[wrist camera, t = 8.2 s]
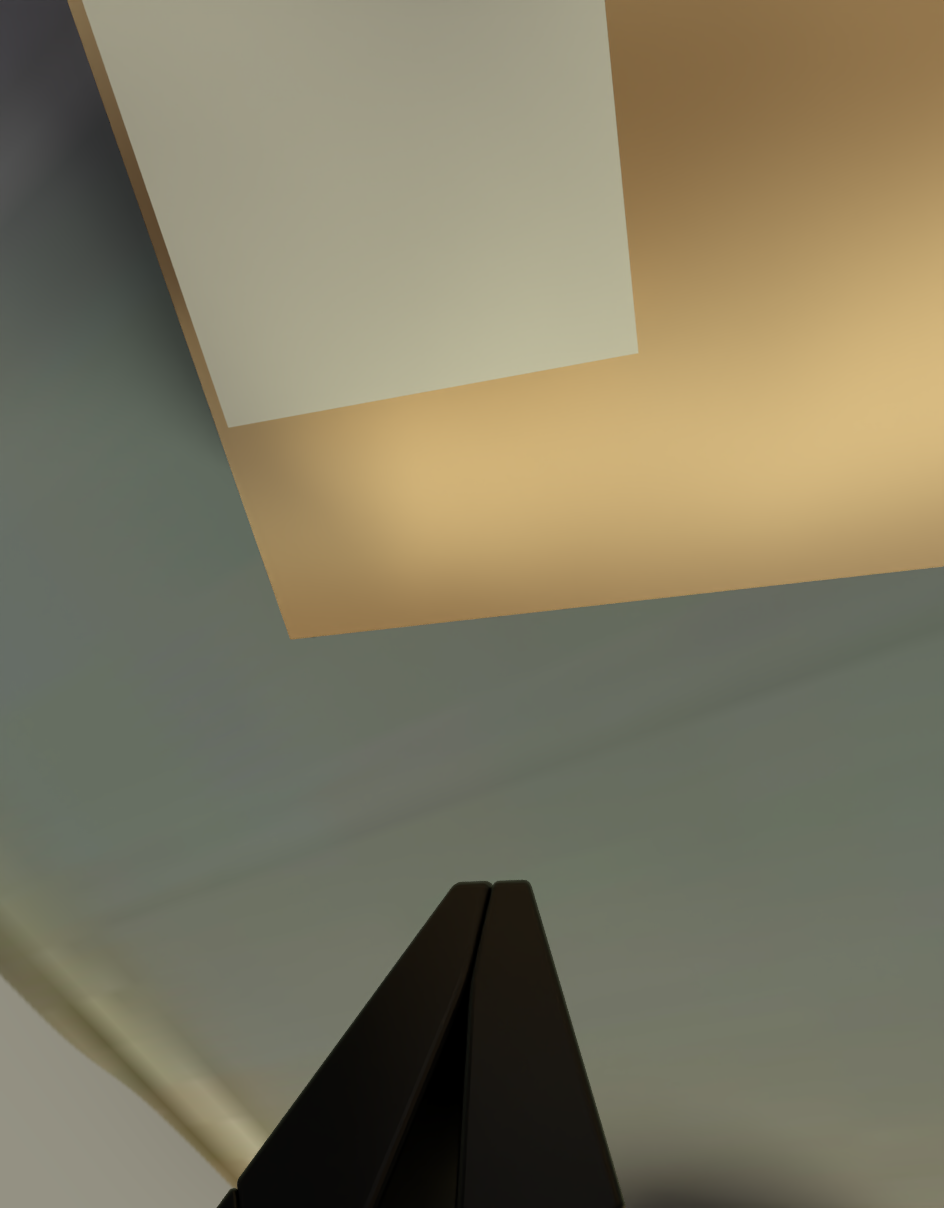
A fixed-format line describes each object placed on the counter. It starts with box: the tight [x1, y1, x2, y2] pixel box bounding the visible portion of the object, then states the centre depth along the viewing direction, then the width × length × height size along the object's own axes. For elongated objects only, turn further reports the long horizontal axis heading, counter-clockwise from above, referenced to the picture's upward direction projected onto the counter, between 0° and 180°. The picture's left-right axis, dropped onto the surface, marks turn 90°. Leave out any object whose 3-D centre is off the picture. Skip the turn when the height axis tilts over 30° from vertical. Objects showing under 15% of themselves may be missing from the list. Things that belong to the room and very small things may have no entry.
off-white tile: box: [82, 0, 638, 428], centre depth 8 cm, size 4×4×2 cm
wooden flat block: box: [67, 0, 944, 639], centre depth 9 cm, size 12×16×4 cm
